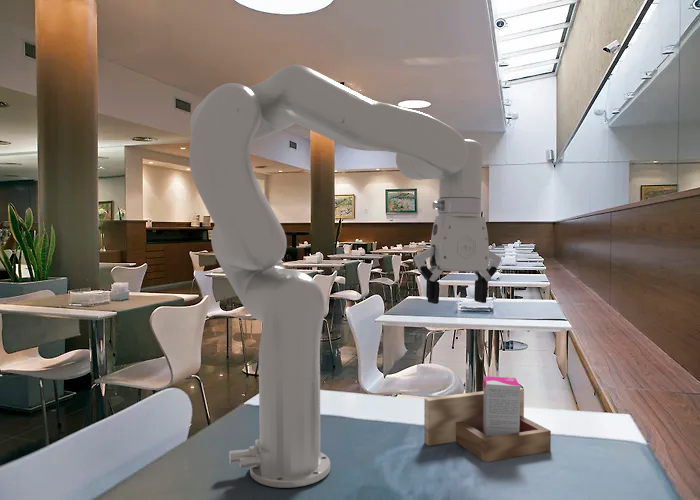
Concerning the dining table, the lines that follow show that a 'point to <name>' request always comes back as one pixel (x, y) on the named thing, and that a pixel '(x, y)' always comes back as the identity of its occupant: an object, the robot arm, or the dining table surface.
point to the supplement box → (501, 406)
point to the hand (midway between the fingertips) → (456, 302)
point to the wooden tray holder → (479, 428)
